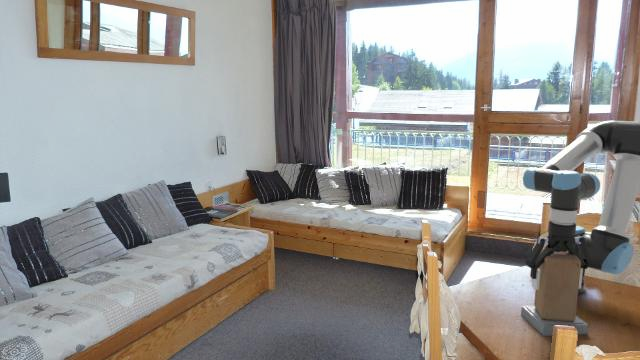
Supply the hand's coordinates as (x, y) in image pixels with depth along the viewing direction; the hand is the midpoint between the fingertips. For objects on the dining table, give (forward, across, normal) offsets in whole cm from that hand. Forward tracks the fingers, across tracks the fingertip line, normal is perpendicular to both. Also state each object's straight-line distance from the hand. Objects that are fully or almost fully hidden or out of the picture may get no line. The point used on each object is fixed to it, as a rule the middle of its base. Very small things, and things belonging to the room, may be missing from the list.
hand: (556, 287), depth 154 cm
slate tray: (+12, 0, 0) cm, 12 cm away
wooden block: (+9, 0, 0) cm, 9 cm away
